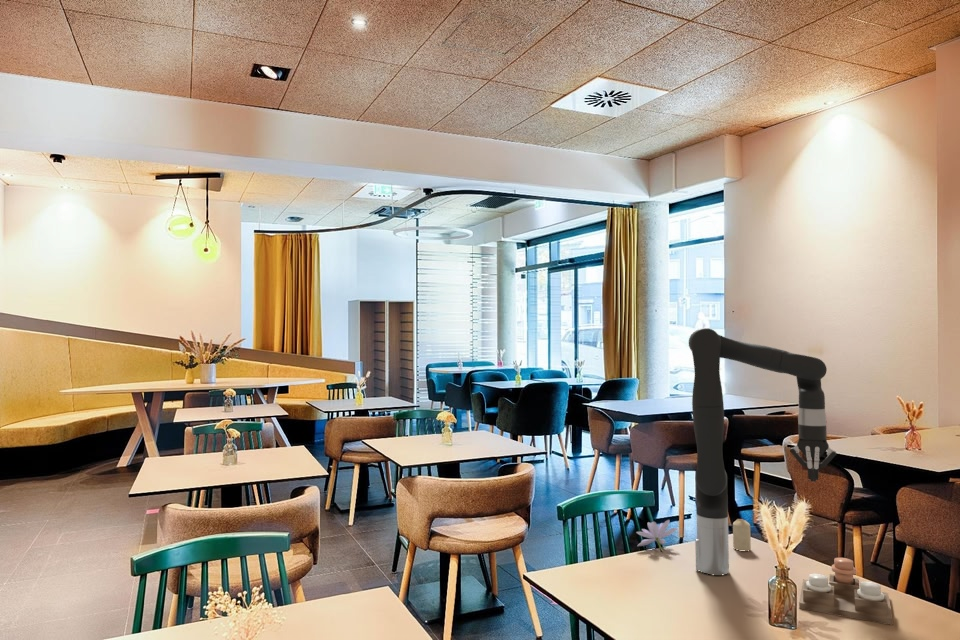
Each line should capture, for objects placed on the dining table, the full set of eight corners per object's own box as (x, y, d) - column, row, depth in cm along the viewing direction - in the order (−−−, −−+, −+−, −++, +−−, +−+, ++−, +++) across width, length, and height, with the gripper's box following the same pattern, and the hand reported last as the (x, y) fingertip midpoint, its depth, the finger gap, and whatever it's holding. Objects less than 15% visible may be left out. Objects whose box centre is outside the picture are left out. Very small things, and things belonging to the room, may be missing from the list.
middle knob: (831, 583, 178) (831, 561, 178) (832, 576, 183) (831, 555, 183) (856, 587, 175) (856, 565, 175) (856, 579, 180) (855, 558, 180)
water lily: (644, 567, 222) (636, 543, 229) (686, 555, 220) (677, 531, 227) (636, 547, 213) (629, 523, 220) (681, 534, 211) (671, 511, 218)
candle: (752, 552, 216) (751, 522, 216) (735, 551, 217) (734, 521, 217) (748, 547, 221) (748, 518, 222) (732, 546, 222) (731, 517, 223)
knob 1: (805, 600, 172) (805, 578, 172) (807, 592, 177) (806, 571, 178) (831, 604, 169) (830, 582, 169) (831, 596, 174) (831, 575, 175)
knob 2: (857, 609, 166) (857, 586, 166) (857, 600, 171) (856, 579, 172) (885, 614, 163) (884, 590, 163) (883, 605, 168) (883, 583, 169)
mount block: (799, 608, 171) (798, 591, 171) (803, 584, 188) (802, 568, 188) (892, 625, 161) (892, 606, 161) (888, 598, 177) (887, 581, 177)
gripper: (786, 423, 194) (788, 481, 193) (837, 426, 187) (838, 485, 187) (788, 420, 200) (790, 476, 200) (837, 423, 194) (838, 480, 193)
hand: (813, 480), depth 193 cm, fingers closed
